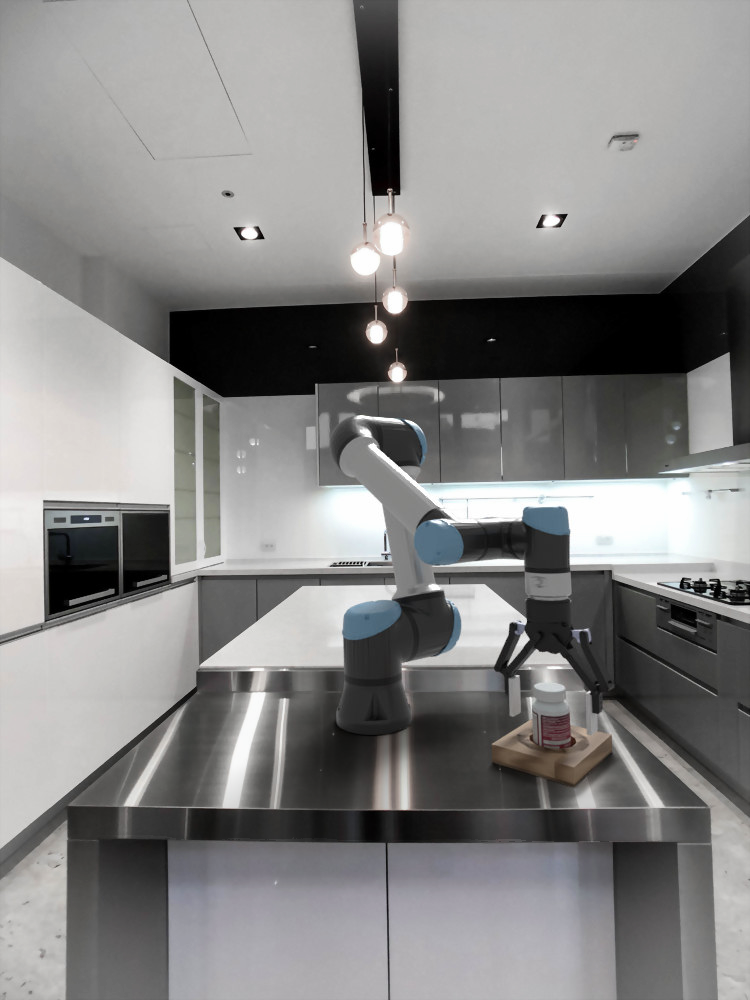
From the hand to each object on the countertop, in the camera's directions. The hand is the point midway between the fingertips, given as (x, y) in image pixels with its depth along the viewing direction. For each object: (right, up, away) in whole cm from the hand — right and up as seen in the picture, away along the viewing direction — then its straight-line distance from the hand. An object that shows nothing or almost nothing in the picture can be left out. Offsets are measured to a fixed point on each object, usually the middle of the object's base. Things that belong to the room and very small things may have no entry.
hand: (552, 723), depth 97 cm
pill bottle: (0, -5, 0) cm, 5 cm away
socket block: (0, -6, 0) cm, 6 cm away
